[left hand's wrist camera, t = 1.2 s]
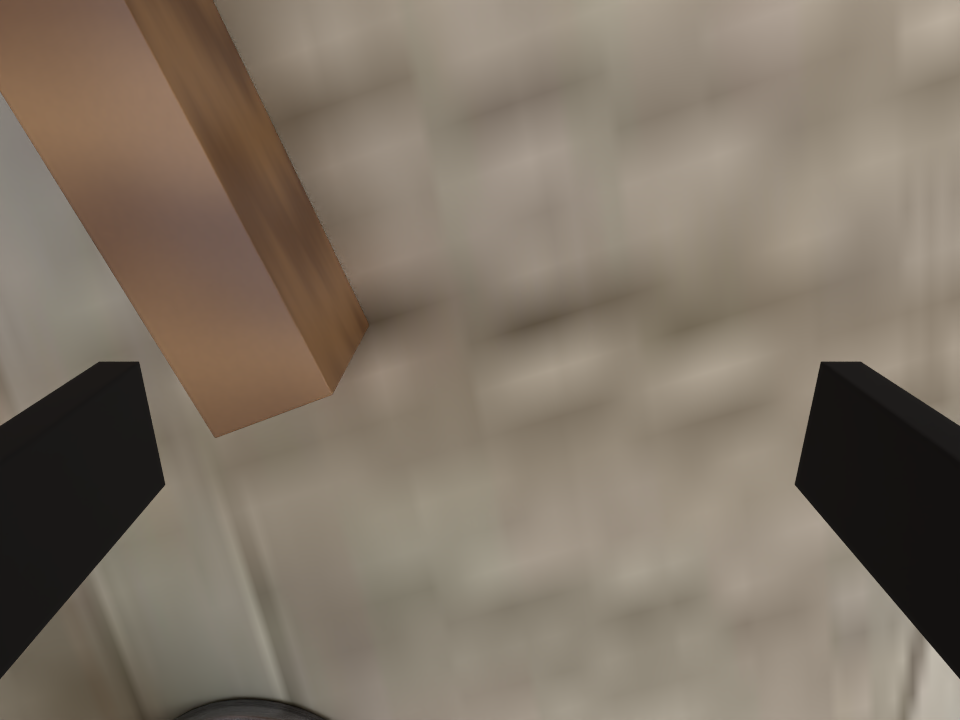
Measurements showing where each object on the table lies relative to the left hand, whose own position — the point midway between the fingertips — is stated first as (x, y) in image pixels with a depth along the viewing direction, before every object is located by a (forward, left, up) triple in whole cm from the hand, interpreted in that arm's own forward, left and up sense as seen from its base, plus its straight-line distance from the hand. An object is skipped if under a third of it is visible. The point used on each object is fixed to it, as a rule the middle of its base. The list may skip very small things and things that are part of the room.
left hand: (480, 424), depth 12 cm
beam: (-5, +41, -19) cm, 45 cm away
